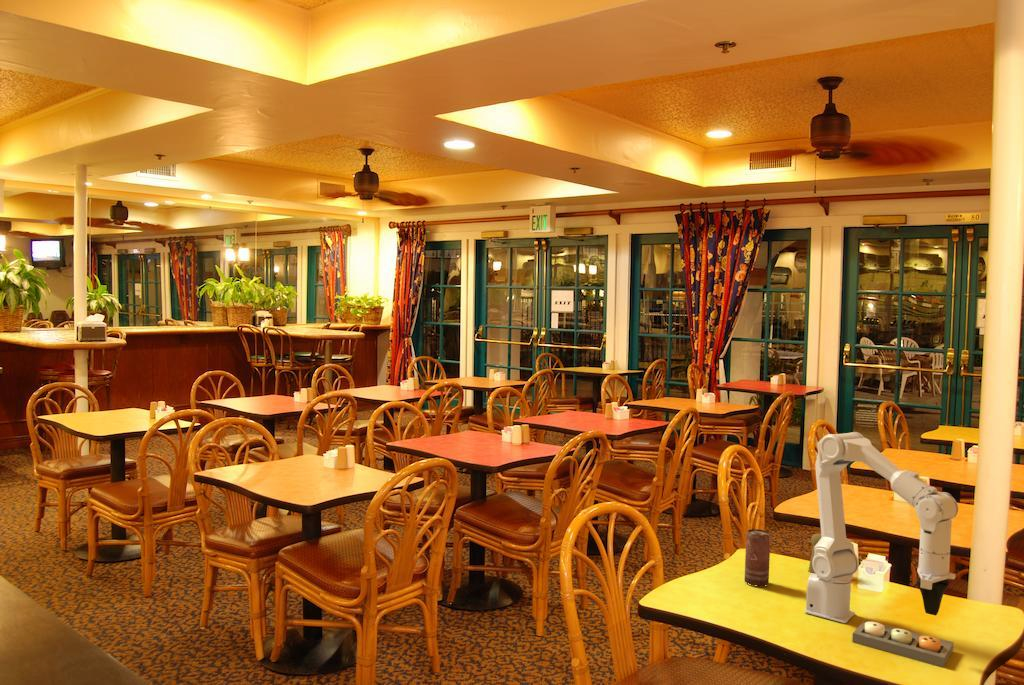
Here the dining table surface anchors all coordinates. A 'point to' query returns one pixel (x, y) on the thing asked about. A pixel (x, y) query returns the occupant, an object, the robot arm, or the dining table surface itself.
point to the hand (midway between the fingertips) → (931, 613)
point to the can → (757, 557)
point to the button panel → (903, 645)
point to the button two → (901, 636)
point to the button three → (929, 643)
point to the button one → (874, 629)
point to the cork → (814, 541)
